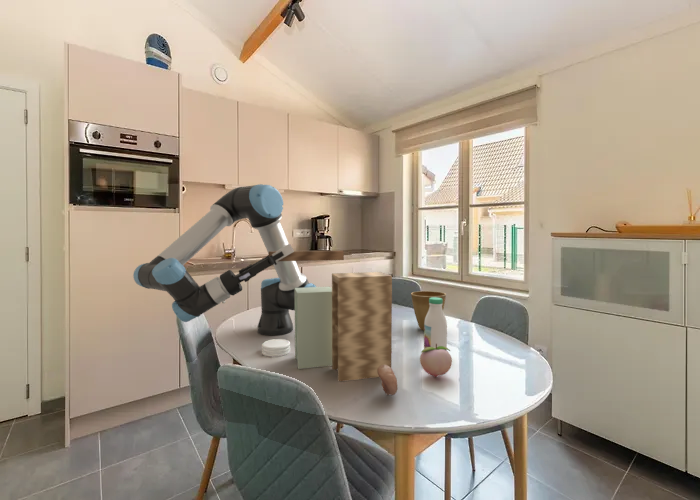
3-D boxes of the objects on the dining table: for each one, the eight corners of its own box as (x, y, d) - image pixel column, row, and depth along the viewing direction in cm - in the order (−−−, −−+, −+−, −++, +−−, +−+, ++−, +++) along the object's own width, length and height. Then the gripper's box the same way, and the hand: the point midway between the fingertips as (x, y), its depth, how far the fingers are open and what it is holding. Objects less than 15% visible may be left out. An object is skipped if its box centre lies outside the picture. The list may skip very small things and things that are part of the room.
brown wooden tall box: (339, 381, 98) (338, 277, 97) (332, 368, 108) (331, 273, 106) (391, 375, 102) (391, 275, 101) (380, 363, 112) (380, 271, 110)
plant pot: (449, 327, 154) (450, 292, 153) (439, 336, 141) (439, 297, 140) (418, 323, 161) (418, 289, 161) (405, 330, 149) (405, 294, 148)
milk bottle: (447, 352, 122) (448, 296, 121) (445, 360, 114) (446, 301, 113) (425, 350, 124) (425, 295, 123) (422, 357, 117) (423, 299, 116)
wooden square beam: (268, 261, 107) (268, 251, 106) (268, 260, 110) (268, 251, 109) (343, 259, 113) (343, 250, 112) (341, 259, 116) (341, 250, 115)
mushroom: (384, 387, 94) (384, 358, 94) (404, 392, 91) (404, 363, 91) (370, 398, 88) (370, 368, 88) (392, 404, 85) (392, 373, 84)
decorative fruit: (432, 386, 95) (432, 350, 95) (415, 374, 103) (415, 342, 102) (458, 380, 99) (459, 346, 98) (440, 369, 106) (441, 338, 106)
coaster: (295, 349, 126) (294, 339, 126) (282, 358, 116) (282, 348, 116) (270, 346, 129) (270, 337, 129) (256, 355, 119) (256, 345, 119)
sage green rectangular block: (298, 369, 107) (297, 293, 106) (295, 357, 117) (294, 288, 116) (335, 365, 110) (335, 291, 109) (329, 354, 120) (329, 286, 119)
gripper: (233, 292, 114) (295, 255, 118) (229, 301, 98) (300, 259, 103) (221, 272, 112) (284, 237, 117) (215, 279, 97) (287, 237, 101)
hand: (291, 247), depth 110 cm, fingers closed on wooden square beam, 3 cm apart
